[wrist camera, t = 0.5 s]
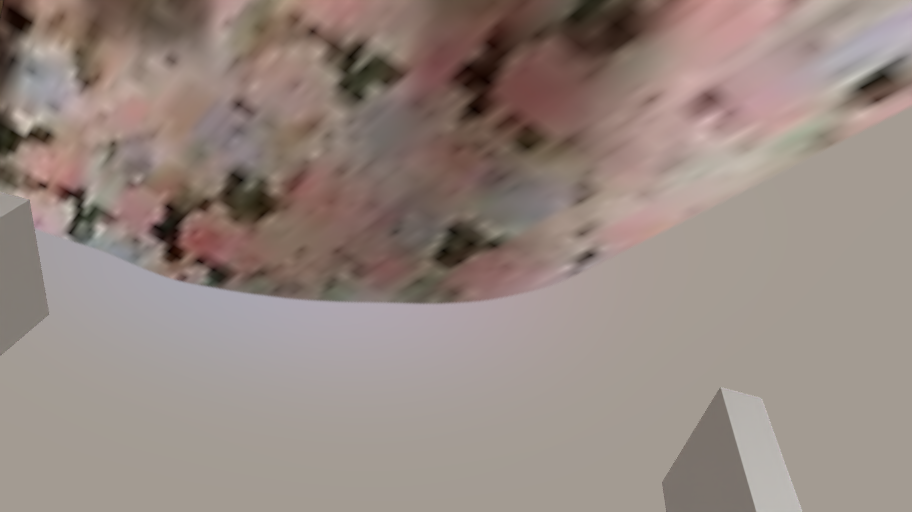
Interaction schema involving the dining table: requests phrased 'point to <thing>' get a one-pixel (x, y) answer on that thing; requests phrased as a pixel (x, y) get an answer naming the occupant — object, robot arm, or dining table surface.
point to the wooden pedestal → (0, 4)
